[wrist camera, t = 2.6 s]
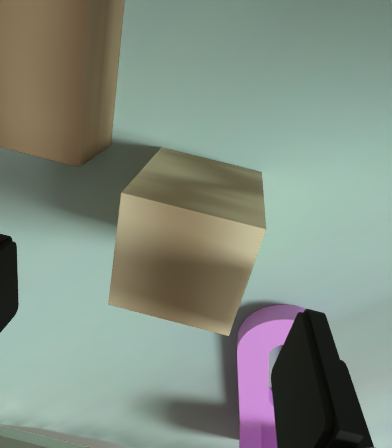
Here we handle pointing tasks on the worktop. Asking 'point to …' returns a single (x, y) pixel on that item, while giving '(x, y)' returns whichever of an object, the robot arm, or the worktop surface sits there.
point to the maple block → (187, 240)
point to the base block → (59, 76)
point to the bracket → (260, 372)
